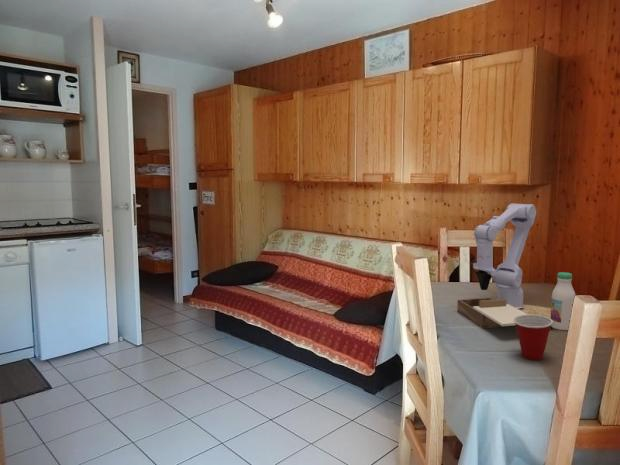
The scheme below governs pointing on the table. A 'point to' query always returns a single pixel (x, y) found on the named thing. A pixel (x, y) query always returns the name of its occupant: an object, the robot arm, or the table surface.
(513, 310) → the lid
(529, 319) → the plastic cup
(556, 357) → the table surface
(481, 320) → the storage box
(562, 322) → the milk bottle
